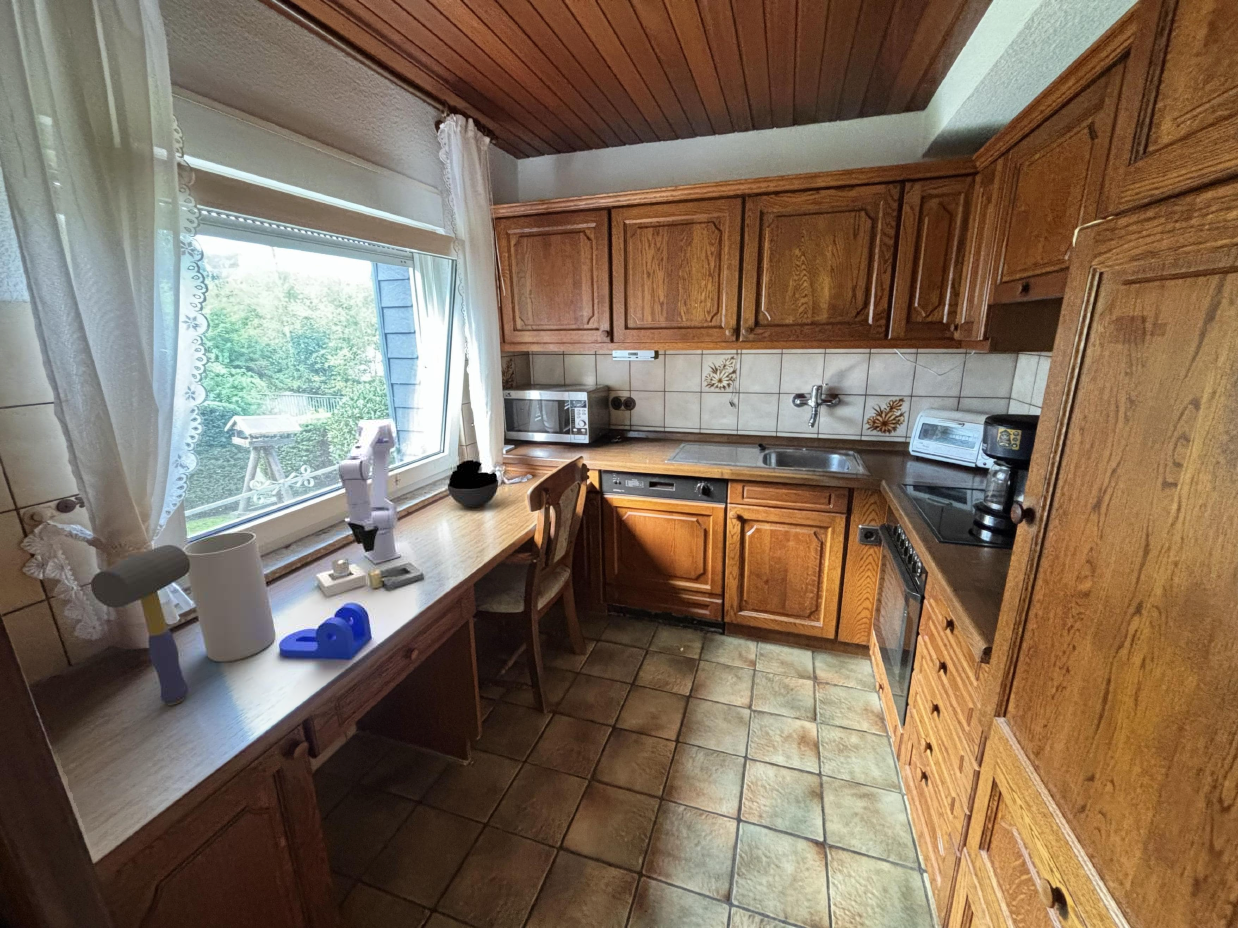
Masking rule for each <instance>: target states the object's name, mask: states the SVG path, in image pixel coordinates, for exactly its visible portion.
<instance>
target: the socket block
mask: <svg viewBox="0 0 1238 928" xmlns="http://www.w3.org/2000/svg"><path fill="white" fill-rule="evenodd" d="M379 571H380V572H381V578H385V577H388V576H389V578H386V579H383V580H382V582H383V584H382V585H383V586H382V587H384V588H385V589H386V590H387V591H390V590H394V589H397V588H400V587H404V586H406V585H409V584H413V583H415V582H419V581H422V580H424V579H425V574H424V572H423V571H421V570H420V569H419V568H418V567H417V566H415V565H414V564H413V563H411V562H406V563H403V564H400V565H396V566H393V567H390V568H386V569H383V570H379ZM403 574H404V575H403ZM400 575H401V576H400Z"/></svg>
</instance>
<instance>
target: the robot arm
mask: <svg viewBox="0 0 1238 928" xmlns="http://www.w3.org/2000/svg"><path fill="white" fill-rule="evenodd" d="M357 425H358V426H357V432H358V436H359V437H360V438H359V441H358V443H355V444H354V445H353V446H352V447H351V450H350V452H349V454H348V455H347V457H346V459H345V460H342V461H341V462H340V463H339V465H338V468H337V469H338V478H339V480H340V482H341V487H342V488H344V491H345V498H346V504H347V510H348V511H347V512H348V518H344V522H345V523H346V524H347V525H348V527H349V528H350V530H351V532H352V535H353V536H354V540H355V541H356V543H357V545H360V544H362V548H363V550H364V551H365V555H364V557H366V558H367V559H369V560H370V561H371V562H372V563H373V564H374V565H376V564H380V563H384V562H388V561H390V560H394V559H396V558H401V556H402V555H401V554H400V553H399V552H398V551H397V549H396V544H395V542H396V541H395V535H394V529H396V528H397V525H398V512H397V511H398V510H397V506H396V505H395V503H393V502H392V501H390V500H389V499H388V494H389V493H388V491H389V473H390V471H389V470H390V467H389V466H390V454H391V450H392V449H394V448H395V447H396V443H397V441H396V440H397V429H396V423H395V421H394V420H393V419H392V418H389V419H375V420H374V419H369V420H368V419H367V420H364V419H361V420H360V421H359V422H358V424H357ZM371 460H372V467H371V465H370V463H371ZM370 468H372V469H371V485H370V490H369V484H368V478H369V475H370Z"/></svg>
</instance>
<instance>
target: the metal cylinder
mask: <svg viewBox="0 0 1238 928" xmlns="http://www.w3.org/2000/svg"><path fill="white" fill-rule="evenodd" d="M349 563H350V562H349V559H348V558H347V557H342V558H341V557H340V558H336V559H334V560H332V561H331V567H332V570H333V573H334V580H338V579H341V578H344V577H348V576H350V569H349V565H350V564H349Z"/></svg>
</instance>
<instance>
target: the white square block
mask: <svg viewBox="0 0 1238 928" xmlns="http://www.w3.org/2000/svg"><path fill="white" fill-rule="evenodd" d="M349 569H350V576H348V577H344V578H341V579H338V580H334V573H333V569H331V570H327V571H323V572H320V573H317V574H316V580H317V581H316V583H317V585H318V586H319V588H320V589H321V591H322V592H323V593H324V594H325V595H326V597H328V598H329V597H331V596H334V595H337V594H341V593H344V592H347V591H350V590H354V589H356V588H360V587H363V586H367V585H368V584H367V575H366V574H365V573H364V572H363V570H362V569H361V568H359V567H358V565H356V563H352V564H349Z"/></svg>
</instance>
